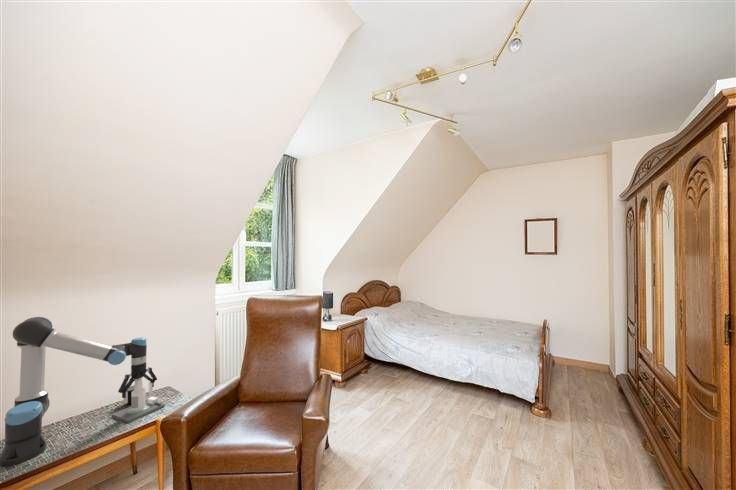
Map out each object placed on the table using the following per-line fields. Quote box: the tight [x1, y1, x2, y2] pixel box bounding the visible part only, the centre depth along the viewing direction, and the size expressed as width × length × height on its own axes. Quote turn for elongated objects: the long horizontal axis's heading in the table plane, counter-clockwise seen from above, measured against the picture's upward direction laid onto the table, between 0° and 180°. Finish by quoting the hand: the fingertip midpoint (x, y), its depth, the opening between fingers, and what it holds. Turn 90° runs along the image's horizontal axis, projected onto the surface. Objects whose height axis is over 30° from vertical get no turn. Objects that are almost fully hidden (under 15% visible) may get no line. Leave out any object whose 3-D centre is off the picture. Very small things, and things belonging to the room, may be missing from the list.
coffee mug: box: [125, 384, 135, 406], centre depth 193 cm, size 12×9×10 cm
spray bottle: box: [130, 377, 146, 412], centre depth 181 cm, size 7×7×18 cm
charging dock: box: [110, 396, 165, 424], centre depth 181 cm, size 20×18×4 cm
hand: (138, 397), depth 181 cm, fingers open, 13 cm apart
